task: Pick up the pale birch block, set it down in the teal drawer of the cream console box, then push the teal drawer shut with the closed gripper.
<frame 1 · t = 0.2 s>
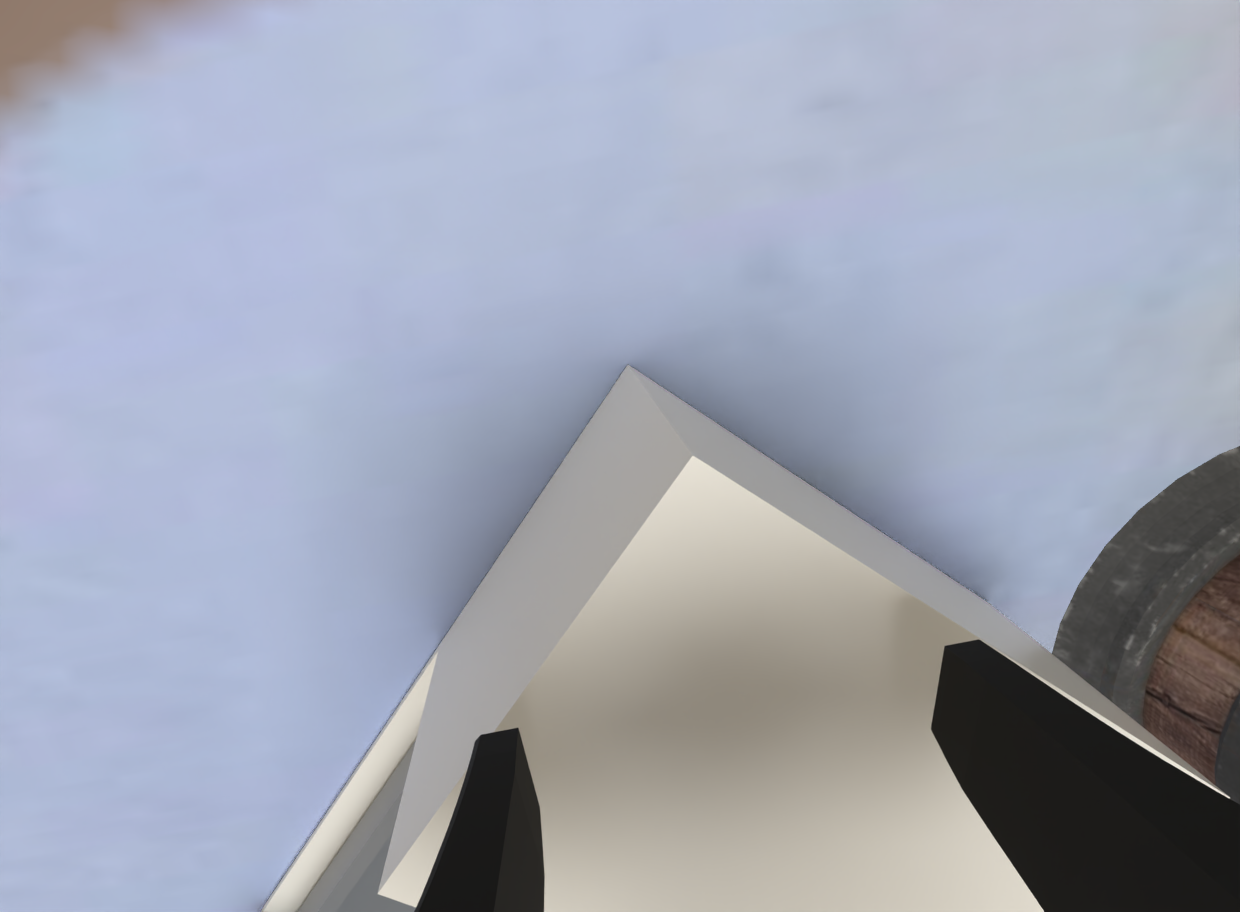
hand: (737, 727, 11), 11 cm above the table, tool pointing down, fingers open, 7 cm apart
console box: (726, 622, 23), on the table
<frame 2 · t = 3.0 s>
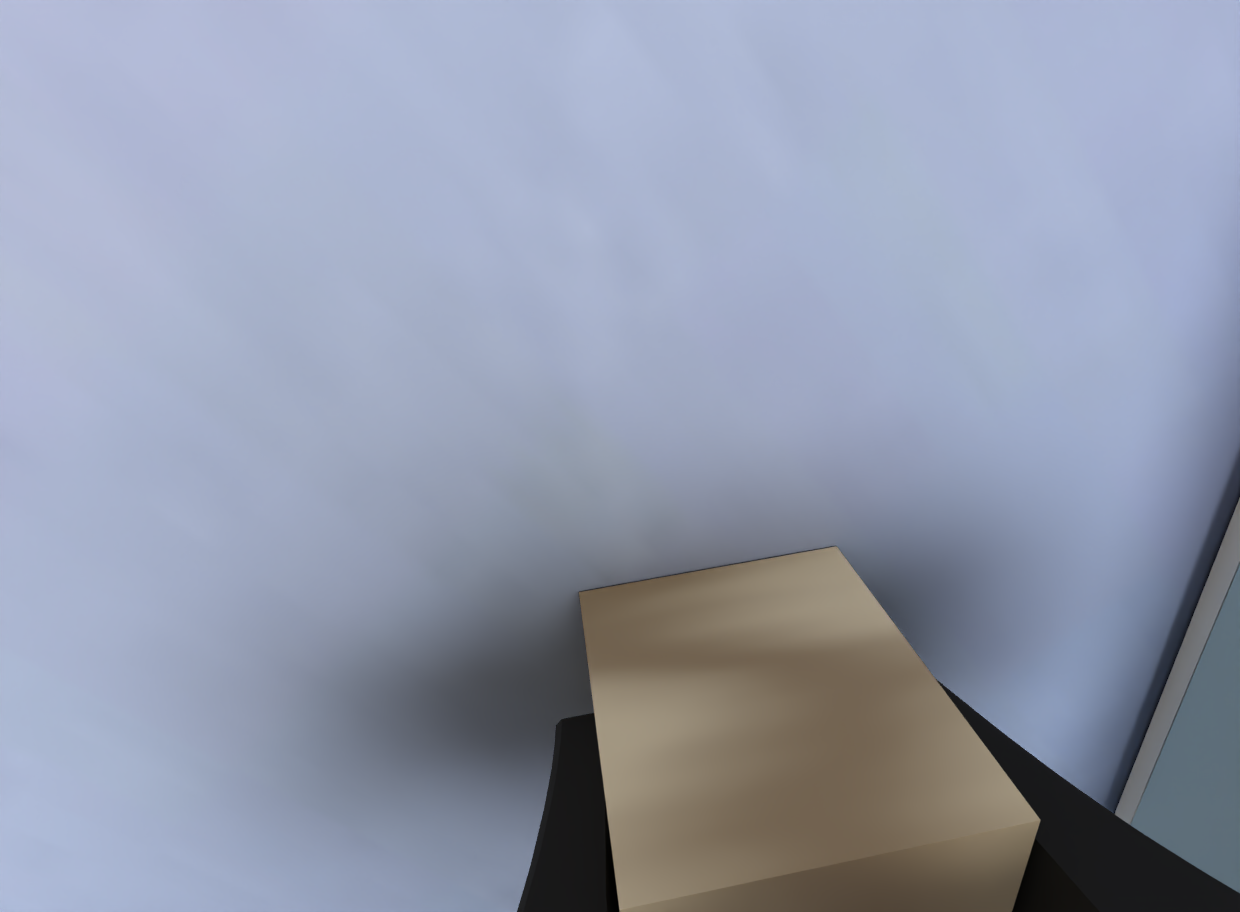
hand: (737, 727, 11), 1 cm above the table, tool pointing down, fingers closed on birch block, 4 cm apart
birch block: (715, 664, 12), on the table, touching gripper
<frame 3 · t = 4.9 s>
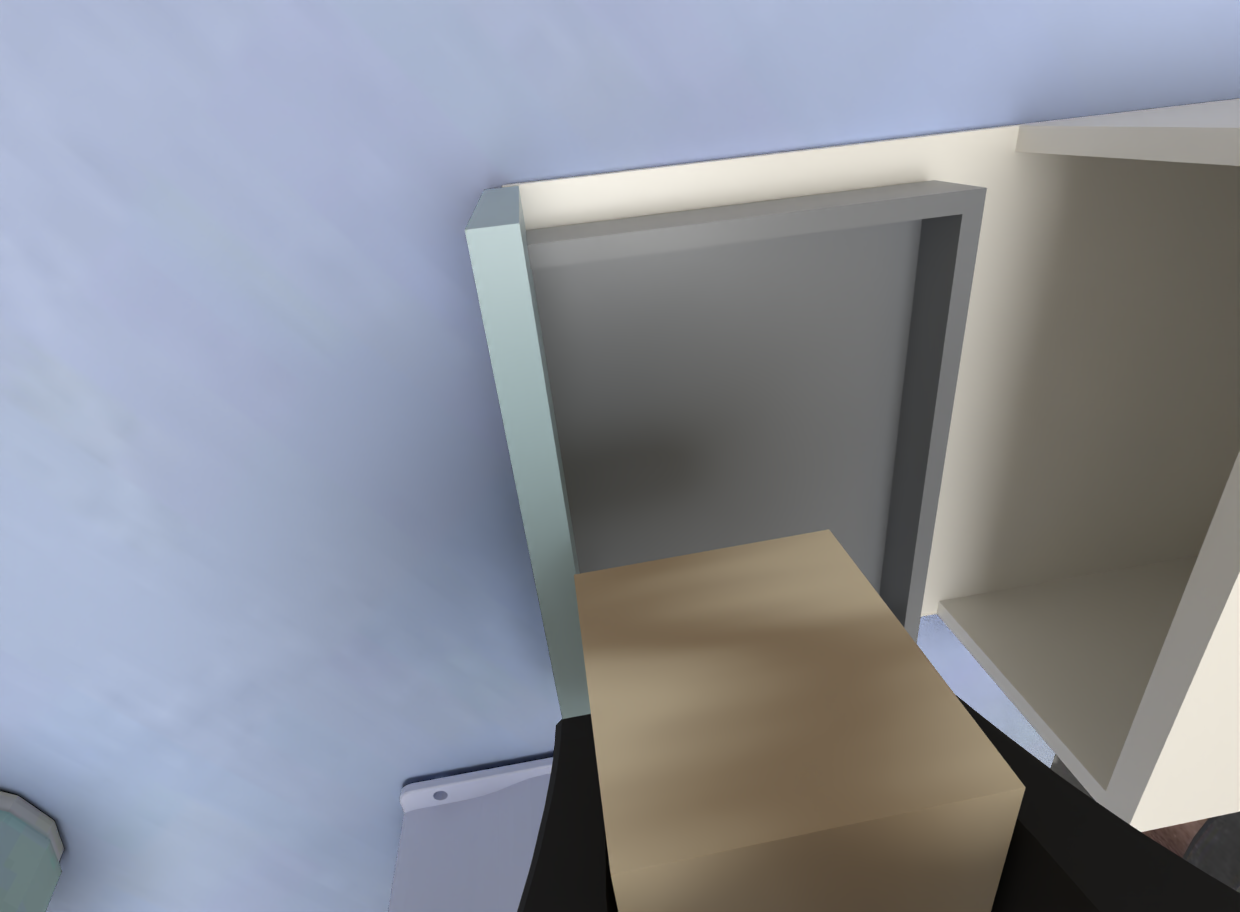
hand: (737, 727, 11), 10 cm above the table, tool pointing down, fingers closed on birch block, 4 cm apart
console box: (1126, 384, 21), on the table
teal drawer: (760, 514, 16), point 4 cm above the table, slide at 12.5 cm
tankard: (1199, 767, 32), on the table
birch block: (709, 648, 12), point 8 cm above the table, touching gripper
when the fingers open (4 cm above the table, at t = 6.8 s): birch block drops 1 cm, resting on teal drawer.
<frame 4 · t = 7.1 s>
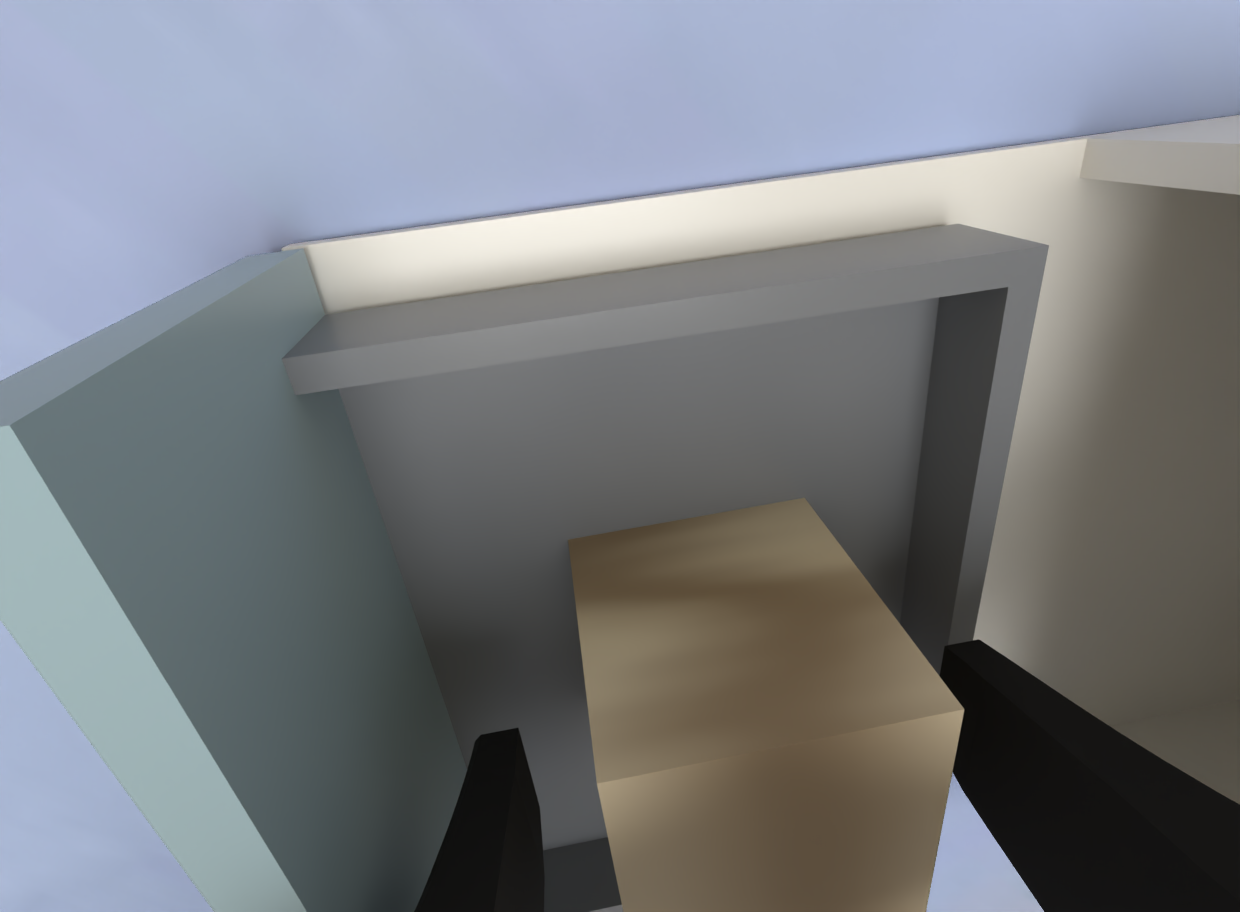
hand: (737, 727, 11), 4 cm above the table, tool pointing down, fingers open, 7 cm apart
console box: (1219, 486, 15), on the table
teal drawer: (699, 732, 11), point 4 cm above the table, slide at 12.5 cm, touching birch block
birch block: (695, 610, 13), point 1 cm above the table, touching teal drawer
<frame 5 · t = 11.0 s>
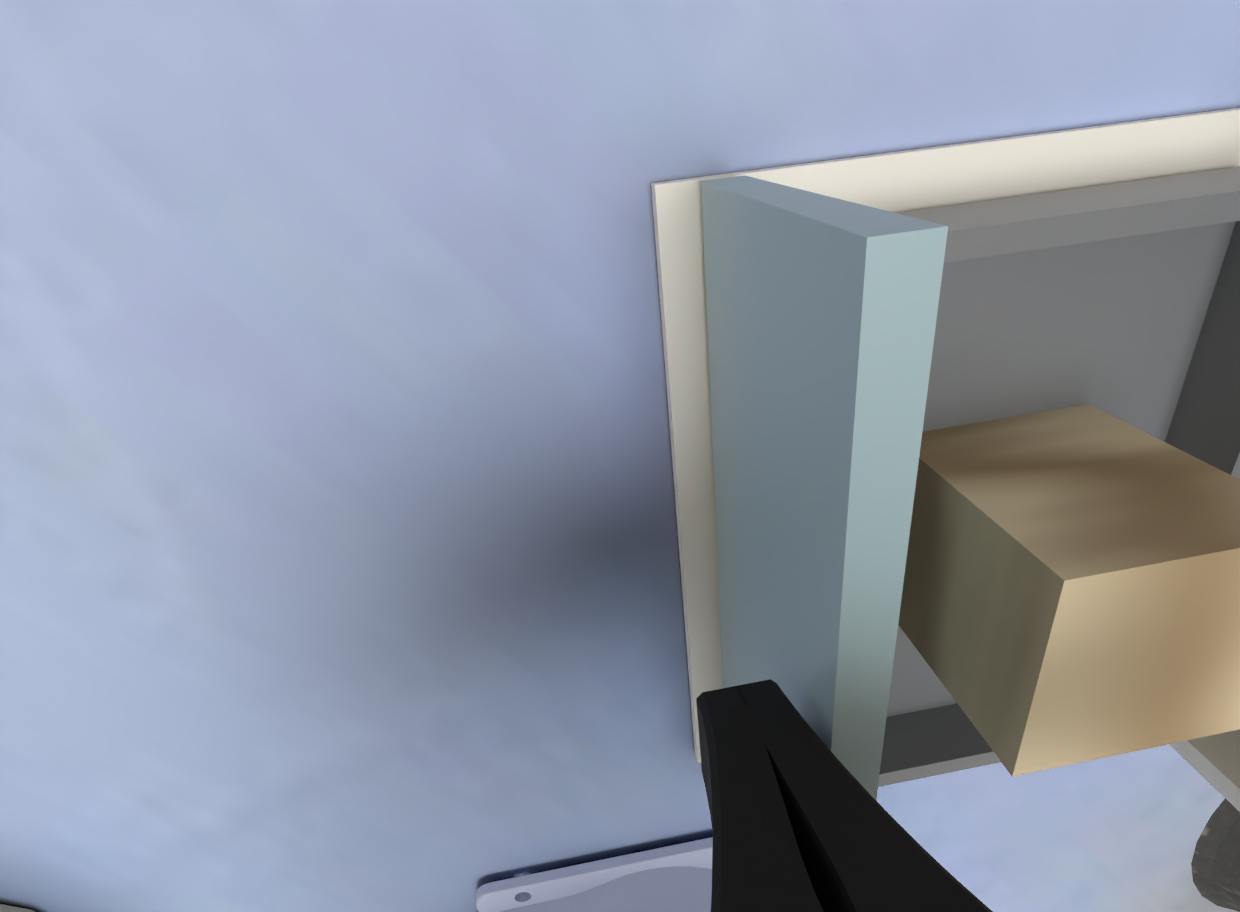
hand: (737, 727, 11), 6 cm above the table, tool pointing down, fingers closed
teal drawer: (1030, 589, 13), point 4 cm above the table, slide at 11.3 cm, touching birch block, gripper
birch block: (977, 506, 15), point 1 cm above the table, touching teal drawer
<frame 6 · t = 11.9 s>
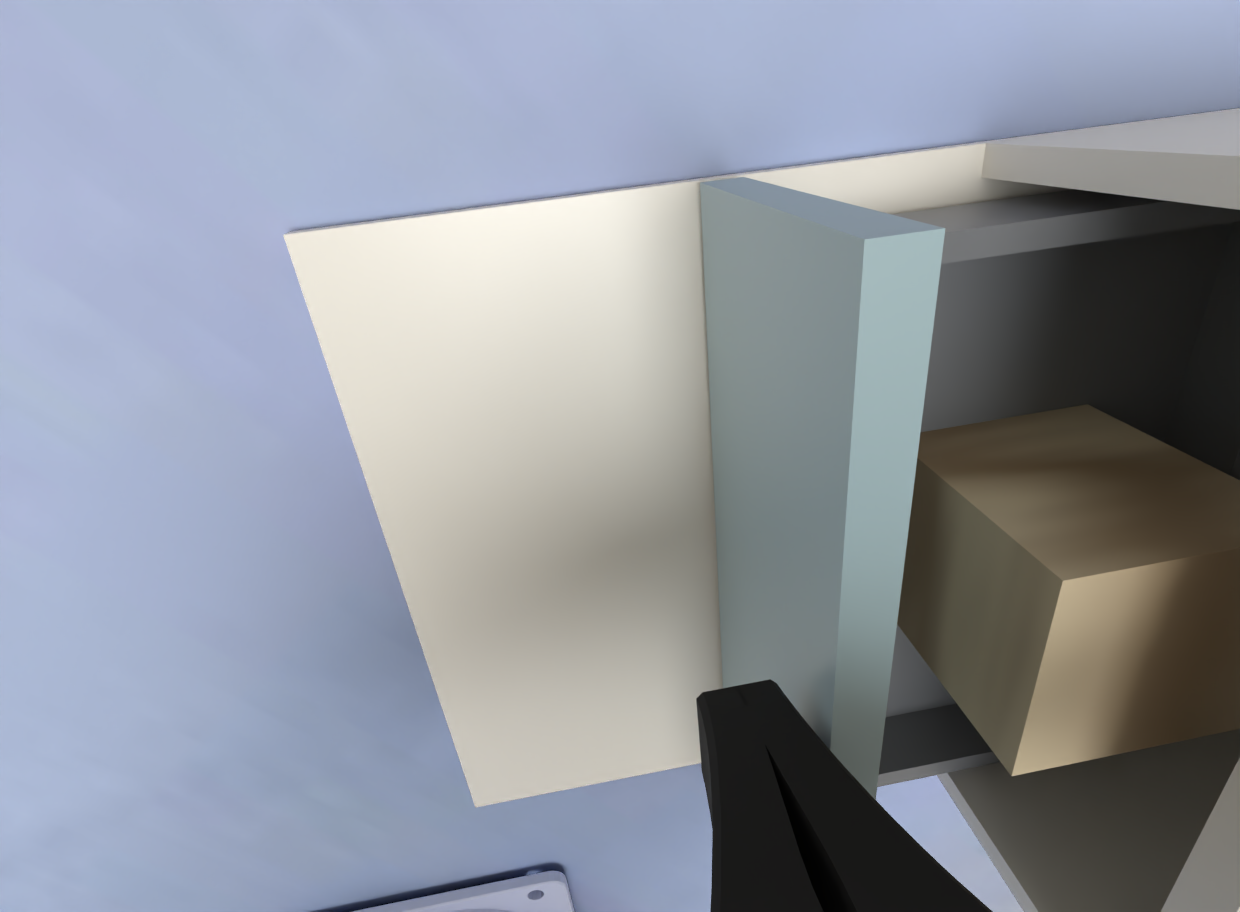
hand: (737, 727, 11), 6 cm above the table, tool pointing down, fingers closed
console box: (1130, 457, 17), on the table
teal drawer: (1029, 590, 13), point 4 cm above the table, slide at 4.7 cm, touching birch block, gripper
birch block: (976, 506, 15), point 1 cm above the table, touching teal drawer
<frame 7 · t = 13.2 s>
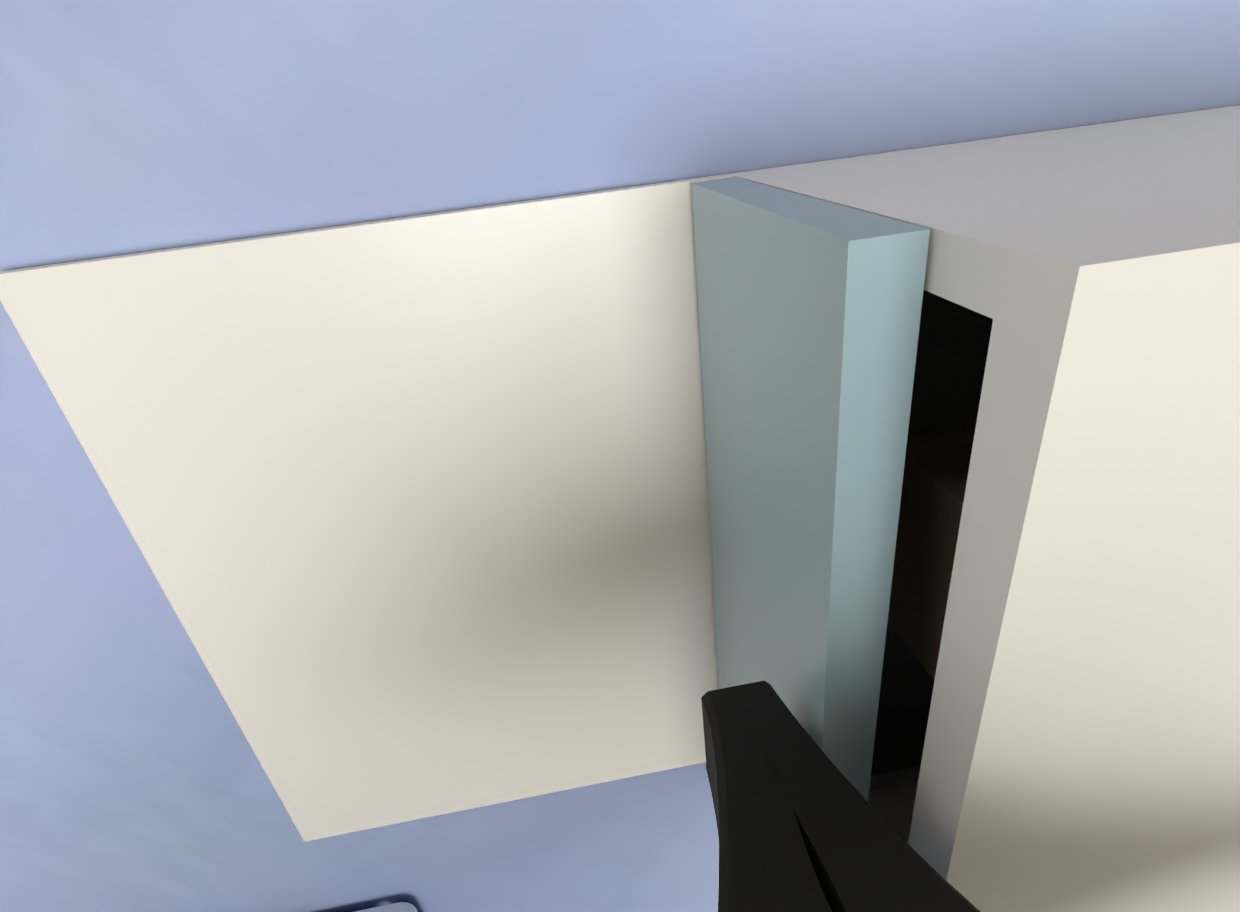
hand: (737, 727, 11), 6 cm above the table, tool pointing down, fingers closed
console box: (951, 487, 16), on the table
teal drawer: (1023, 590, 13), point 4 cm above the table, slide at 0.0 cm, touching birch block, gripper
birch block: (971, 506, 15), point 1 cm above the table, touching teal drawer
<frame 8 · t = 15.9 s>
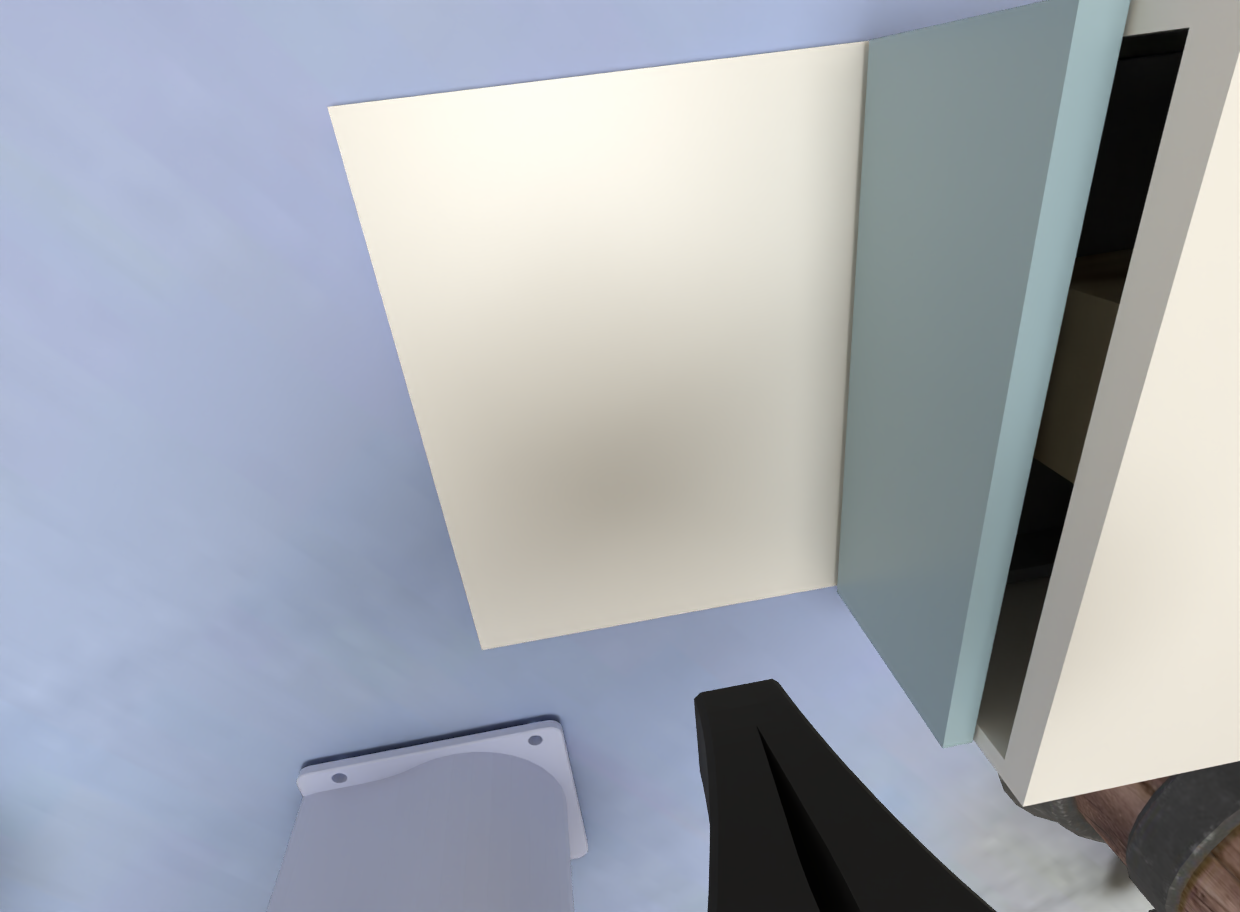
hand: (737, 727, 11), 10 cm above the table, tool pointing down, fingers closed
console box: (1045, 331, 20), on the table
teal drawer: (1122, 381, 16), point 4 cm above the table, slide at 0.0 cm, touching birch block
tankard: (1157, 746, 31), on the table
birch block: (1067, 337, 18), point 1 cm above the table, touching teal drawer
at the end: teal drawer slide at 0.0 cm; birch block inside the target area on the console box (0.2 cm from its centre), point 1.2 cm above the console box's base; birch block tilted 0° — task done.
